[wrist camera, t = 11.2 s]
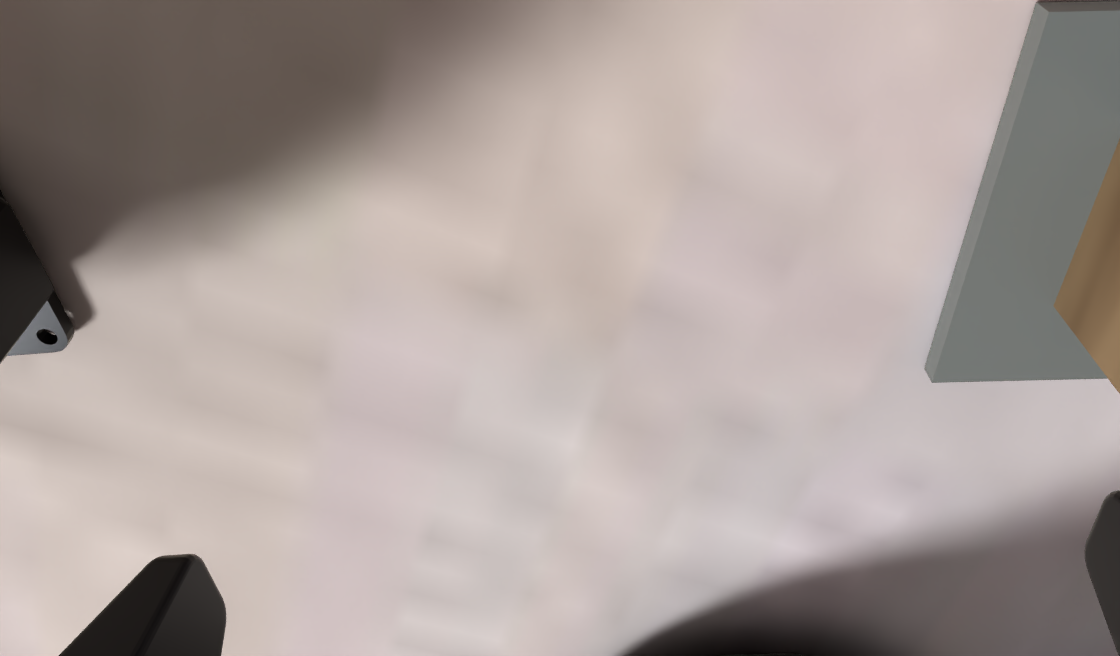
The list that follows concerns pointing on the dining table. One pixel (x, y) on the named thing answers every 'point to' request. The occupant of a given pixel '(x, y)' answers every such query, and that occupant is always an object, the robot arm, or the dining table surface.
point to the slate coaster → (1035, 205)
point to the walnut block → (1097, 279)
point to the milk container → (777, 655)
